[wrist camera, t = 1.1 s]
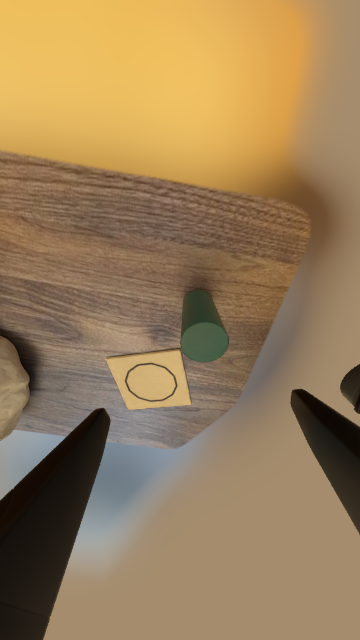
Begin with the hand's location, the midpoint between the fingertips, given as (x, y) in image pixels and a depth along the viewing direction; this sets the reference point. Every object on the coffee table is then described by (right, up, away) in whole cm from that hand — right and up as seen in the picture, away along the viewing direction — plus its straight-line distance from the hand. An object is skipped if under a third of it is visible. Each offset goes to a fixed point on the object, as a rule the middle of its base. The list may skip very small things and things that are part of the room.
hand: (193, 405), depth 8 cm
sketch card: (-5, -5, +16) cm, 18 cm away
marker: (+1, +6, +11) cm, 13 cm away
